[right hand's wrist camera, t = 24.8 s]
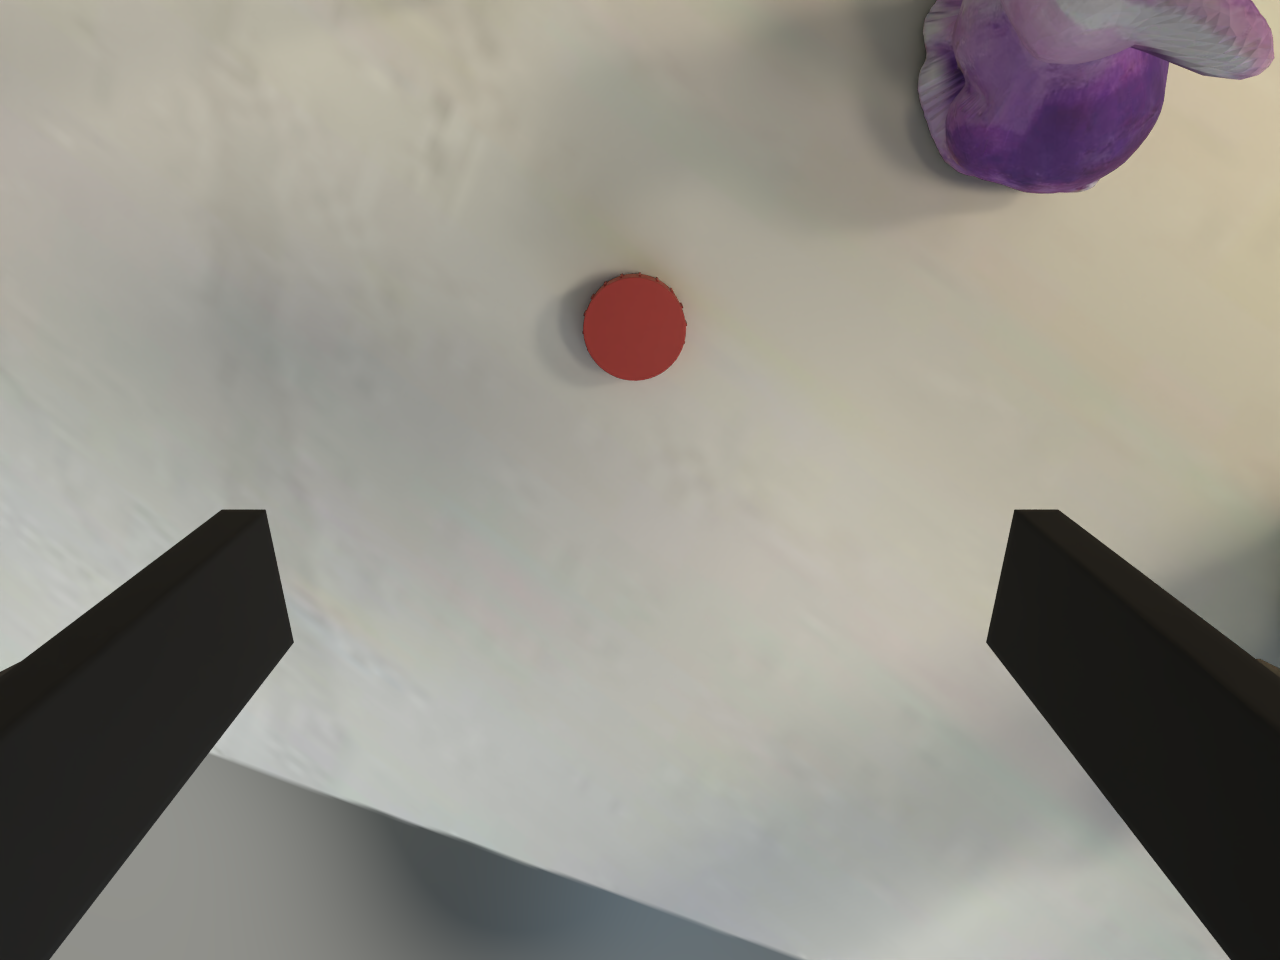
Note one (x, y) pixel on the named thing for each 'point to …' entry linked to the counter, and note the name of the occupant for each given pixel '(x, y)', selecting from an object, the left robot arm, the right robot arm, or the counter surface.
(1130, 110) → the figurine
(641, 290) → the lid
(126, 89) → the counter surface
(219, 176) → the counter surface
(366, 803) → the counter surface
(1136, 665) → the right robot arm
